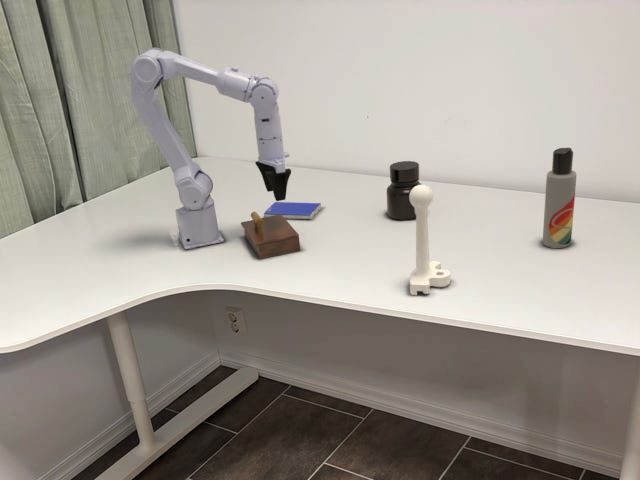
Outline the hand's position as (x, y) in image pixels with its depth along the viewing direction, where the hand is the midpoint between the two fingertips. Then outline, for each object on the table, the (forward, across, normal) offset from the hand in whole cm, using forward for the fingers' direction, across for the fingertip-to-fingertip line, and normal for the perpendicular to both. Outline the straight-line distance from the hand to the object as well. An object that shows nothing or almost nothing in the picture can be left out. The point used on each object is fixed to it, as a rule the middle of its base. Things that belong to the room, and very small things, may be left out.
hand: (276, 195), depth 180 cm
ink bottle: (+10, -3, -31) cm, 33 cm away
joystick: (+10, -41, -19) cm, 47 cm away
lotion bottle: (+10, -37, -50) cm, 63 cm away
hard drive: (+10, +13, -7) cm, 18 cm away
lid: (+7, -4, +4) cm, 9 cm away
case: (+10, -4, +3) cm, 11 cm away
